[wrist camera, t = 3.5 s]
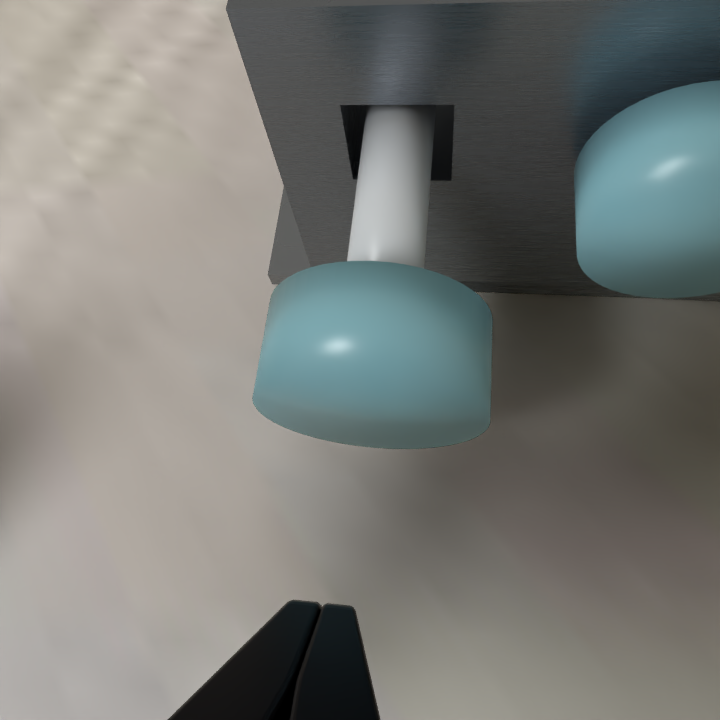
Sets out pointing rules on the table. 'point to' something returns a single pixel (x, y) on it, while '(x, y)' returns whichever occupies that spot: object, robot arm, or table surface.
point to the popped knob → (380, 317)
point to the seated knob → (653, 196)
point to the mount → (462, 116)
